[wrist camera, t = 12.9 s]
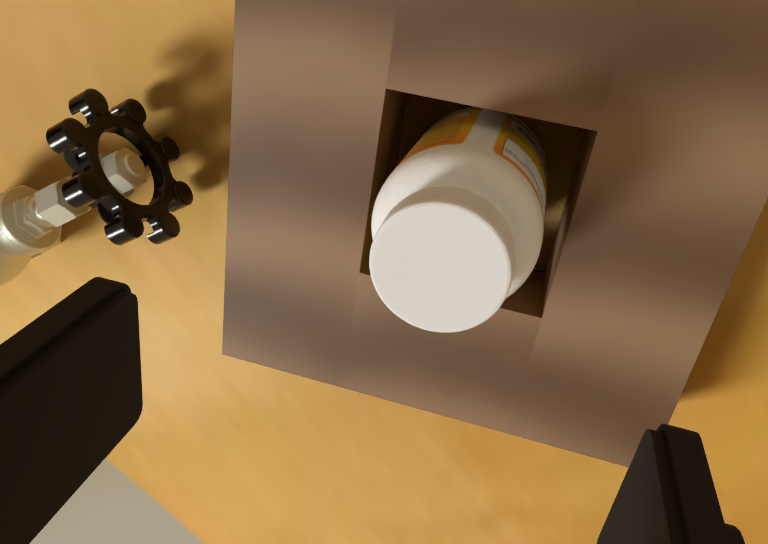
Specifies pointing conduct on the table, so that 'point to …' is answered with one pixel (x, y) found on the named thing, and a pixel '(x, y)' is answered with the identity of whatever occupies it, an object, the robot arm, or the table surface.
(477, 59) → the socket block
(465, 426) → the table surface
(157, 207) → the valve
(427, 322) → the supplement bottle
